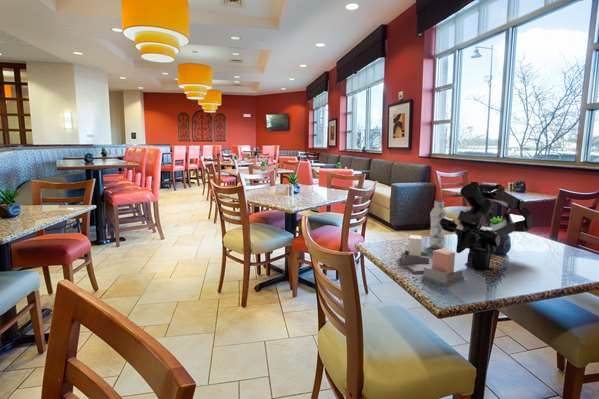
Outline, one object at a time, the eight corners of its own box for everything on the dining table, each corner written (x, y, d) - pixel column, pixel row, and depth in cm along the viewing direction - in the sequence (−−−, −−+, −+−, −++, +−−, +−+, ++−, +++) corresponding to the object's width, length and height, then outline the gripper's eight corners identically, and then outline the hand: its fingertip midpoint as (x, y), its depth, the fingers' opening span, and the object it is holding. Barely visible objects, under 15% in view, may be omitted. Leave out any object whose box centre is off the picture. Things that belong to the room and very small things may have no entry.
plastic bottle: (434, 251, 141) (438, 203, 138) (424, 246, 148) (427, 200, 145) (448, 249, 143) (451, 202, 140) (437, 245, 149) (440, 200, 147)
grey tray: (423, 255, 135) (424, 246, 134) (473, 285, 106) (474, 272, 105) (391, 257, 133) (392, 247, 132) (433, 287, 104) (434, 275, 103)
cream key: (419, 256, 130) (420, 235, 129) (420, 260, 125) (421, 239, 124) (408, 255, 131) (409, 235, 130) (408, 259, 126) (410, 238, 125)
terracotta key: (439, 272, 113) (440, 248, 112) (453, 276, 109) (455, 252, 108) (431, 274, 111) (433, 250, 110) (445, 279, 107) (447, 254, 106)
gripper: (445, 195, 119) (424, 232, 116) (503, 209, 106) (481, 252, 102) (453, 211, 127) (434, 247, 123) (508, 226, 113) (488, 267, 110)
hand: (457, 252), depth 115 cm, fingers closed
